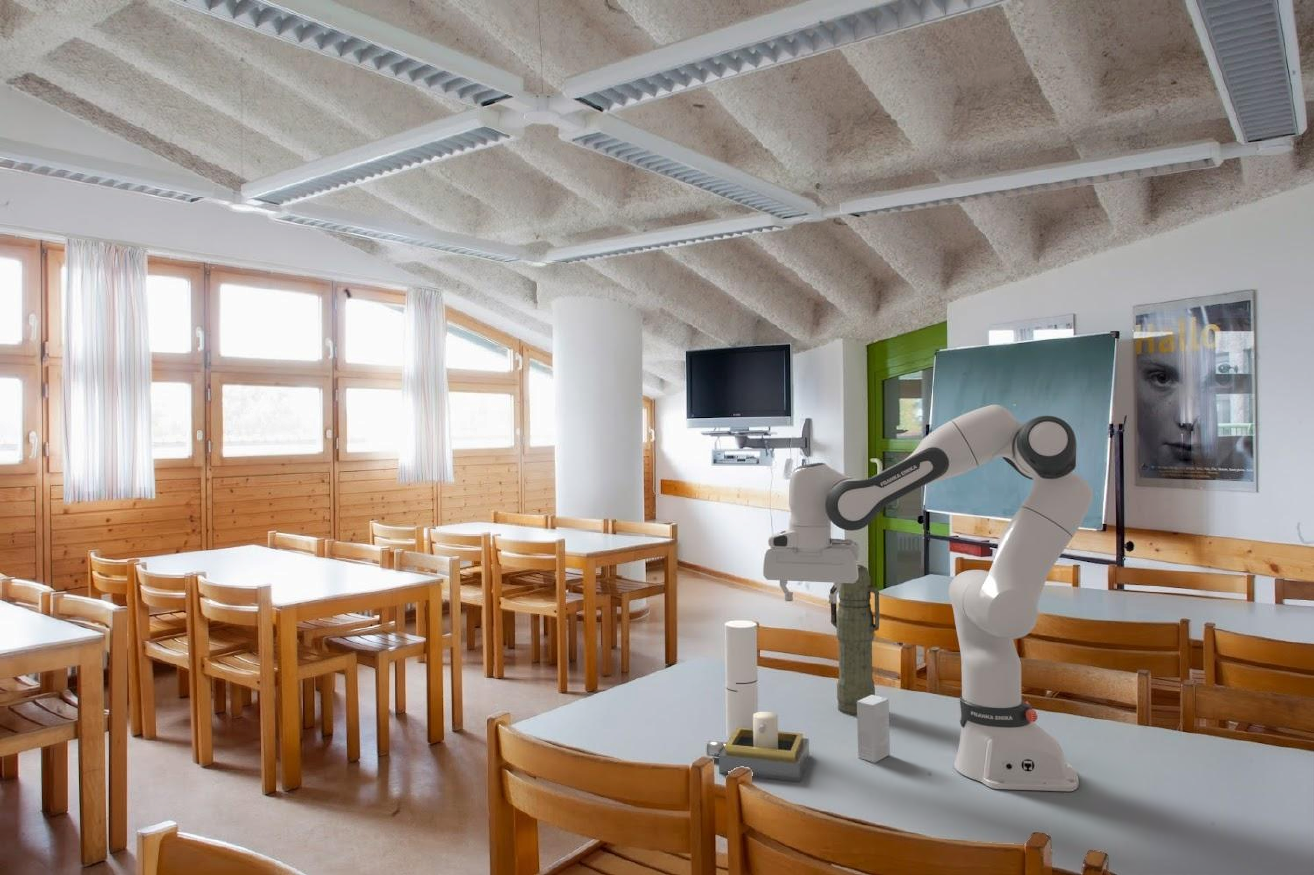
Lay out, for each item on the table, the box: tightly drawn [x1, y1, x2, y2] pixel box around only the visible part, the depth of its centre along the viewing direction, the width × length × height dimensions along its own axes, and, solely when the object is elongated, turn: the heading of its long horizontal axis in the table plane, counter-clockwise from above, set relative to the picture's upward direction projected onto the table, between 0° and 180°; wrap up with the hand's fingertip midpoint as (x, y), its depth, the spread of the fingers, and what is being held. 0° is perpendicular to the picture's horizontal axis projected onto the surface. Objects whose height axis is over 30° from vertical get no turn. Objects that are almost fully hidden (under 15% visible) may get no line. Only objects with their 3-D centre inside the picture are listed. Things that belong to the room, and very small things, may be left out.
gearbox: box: [705, 727, 810, 783], centre depth 174 cm, size 20×14×5 cm
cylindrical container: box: [724, 619, 759, 739], centre depth 190 cm, size 7×7×25 cm
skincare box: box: [856, 694, 891, 763], centre depth 177 cm, size 6×4×12 cm
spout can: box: [753, 711, 779, 749], centre depth 173 cm, size 5×7×10 cm
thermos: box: [829, 564, 880, 716], centre depth 206 cm, size 9×12×35 cm
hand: (810, 601), depth 183 cm, fingers open, 8 cm apart
